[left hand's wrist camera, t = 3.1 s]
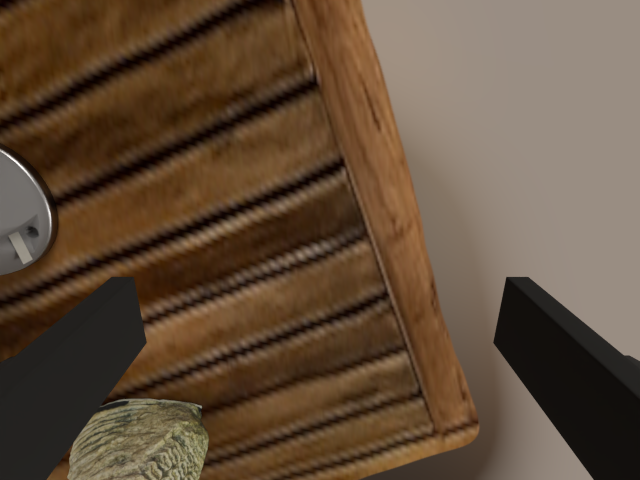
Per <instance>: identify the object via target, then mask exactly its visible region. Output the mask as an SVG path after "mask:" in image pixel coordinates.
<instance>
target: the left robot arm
mask: <svg viewBox="0 0 640 480" xmlns="http://www.w3.org/2000/svg"><path fill="white" fill-rule="evenodd" d="M57 229H58V215H57V209H56V205H55V202H54V199H53V196H52V194H51V192H50V190H49V188H48V186H47V185H46V183H45V181H44V180H43V179H42V177H41V176H40V175H39V173H38V172H37V171H36V170H35V169H34V168H33V166H32V165H31V164H30V163H28V162H27V161H26V160H25V159H24V158H23V157H21V156H20V155H19V154H18V153H16V152H15V151H13V150H12V149H10V148H8V147H6V146H5V145H3V144H1V143H0V275H4V274H9V273H12V272H15V271H18V270H21V269H23V268H25V267H27V266H29V265H31V264H33V263H35V262H36V261H38V260H39V259H41V258H42V257H43V256H44V255H45V254H46V253H47V252H48V251H49V250H50V248H51V246H52V245H53V243H54V240H55V238H56V234H57ZM146 343H147V342H146V337H145V332H144V327H143V322H142V317H141V312H140V307H139V302H138V297H137V292H136V287H135V282H134V277H111V278H110V279H109V280H108V281H106V282H105V283H104V284H103V285H101V286H100V287H99V288H98V289H97V290H95V291H94V292H93V293H92V294H90V295H89V296H88V297H87V298H86V299H84V300H83V301H82V302H81V303H80V304H78V305H77V306H76V307H75V308H73V309H72V310H71V311H70V312H69V313H67V314H66V315H65V316H64V317H62V318H61V319H60V320H59V321H58V322H56V323H55V324H54V325H53V326H51V327H50V328H49V329H48V330H47V331H45V332H44V333H43V334H42V335H41V336H39V337H38V338H37V339H36V340H34V341H33V342H32V343H31V344H30V345H28V346H27V347H26V348H25V349H23V350H22V351H21V352H20V353H19V354H17V355H16V356H15V357H10V358H8V359H6V360H4V361H3V362H1V363H0V480H46V479H47V478H48V477H49V475H50V474H51V472H52V471H53V470H54V468H55V467H56V466H57V464H58V463H59V462H60V460H61V459H62V457H63V456H64V455H65V453H66V452H67V451H68V449H69V448H70V447H71V445H72V444H73V442H74V441H75V440H76V438H77V437H78V436H79V434H80V433H81V432H82V430H83V429H84V427H85V426H86V425H87V423H88V422H89V421H90V419H91V418H92V417H93V415H94V414H95V412H96V411H97V410H98V408H99V407H100V406H101V404H102V403H103V402H104V400H105V399H106V397H107V396H108V395H109V393H110V392H111V391H112V389H113V388H114V387H115V385H116V384H117V382H118V381H119V380H120V378H121V377H122V376H123V374H124V373H125V372H126V370H127V369H128V367H129V366H130V365H131V363H132V362H133V361H134V359H135V358H136V357H137V355H138V354H139V352H140V351H141V350H142V348H143V347H144V346H145V344H146ZM493 343H494V344H495V346H496V347H497V348H498V350H499V351H500V352H501V354H502V355H503V357H504V358H505V359H506V361H507V362H508V363H509V365H510V366H511V367H512V369H513V370H514V372H515V373H516V374H517V376H518V377H519V378H520V380H521V381H522V382H523V384H524V385H525V387H526V388H527V389H528V391H529V392H530V393H531V395H532V396H533V397H534V399H535V400H536V402H537V403H538V404H539V406H540V407H541V408H542V410H543V411H544V412H545V414H546V415H547V417H548V418H549V419H550V421H551V422H552V423H553V425H554V426H555V427H556V429H557V430H558V432H559V433H560V434H561V436H562V437H563V438H564V440H565V441H566V442H567V444H568V445H569V447H570V448H571V449H572V451H573V452H574V453H575V455H576V456H577V457H578V459H579V460H580V462H581V463H582V464H583V466H584V467H585V468H586V470H587V471H588V472H589V474H590V475H591V476H592V478H593V479H594V480H640V361H638V360H636V359H635V358H633V357H631V356H624V355H623V354H621V353H620V352H619V351H618V350H617V349H615V348H614V347H613V346H612V345H610V344H609V343H608V342H607V341H606V340H604V339H603V338H602V337H601V336H599V335H598V334H597V333H596V332H595V331H593V330H592V329H591V328H590V327H589V326H587V325H586V324H585V323H584V322H582V321H581V320H580V319H579V318H578V317H576V316H575V315H574V314H573V313H571V312H570V311H569V310H568V309H567V308H565V307H564V306H563V305H562V304H560V303H559V302H558V301H557V300H556V299H554V298H553V297H552V296H551V295H550V294H548V293H547V292H546V291H545V290H543V289H542V288H541V287H540V286H539V285H537V284H536V283H535V282H534V281H532V280H531V279H530V278H529V277H506V282H505V287H504V292H503V297H502V302H501V307H500V312H499V317H498V322H497V327H496V332H495V337H494V342H493Z"/></svg>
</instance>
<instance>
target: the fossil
mask: <svg viewBox="0 0 640 480" xmlns="http://www.w3.org/2000/svg"><path fill="white" fill-rule="evenodd" d="M201 408H202V406H199V405H197V404H193V403H185V402H180V401H172V400H164V399H163V400H155V399H123V400H118V401H115V402H112V403H108V404H106V405H104V406H100V407H99V408H98V410H97V411H96V412H95V414H94V415H93V417H92V418H91V419H90V421H89V422H88V423H87V425H86V426H85V427H84V429H83V430H82V432H81V433H80V434H79V436H78V437H77V438H76V440H75V441H74V443H73V448H72V451H71V453H70V454H71V456H70V459H69V462H70V469H69V474H68V476H67V478H68V479H69V480H198V479H199V475H200V473H201V470H202V467H203V464H204V460H205V456H206V453H207V448H208V442H209V436H208V432H207V430H206V429H205V427H204V426H203V424H202V422H201V421H200V420H201V416H202V415H201Z"/></svg>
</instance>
